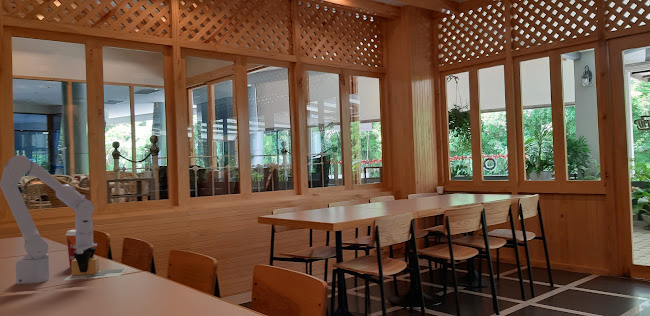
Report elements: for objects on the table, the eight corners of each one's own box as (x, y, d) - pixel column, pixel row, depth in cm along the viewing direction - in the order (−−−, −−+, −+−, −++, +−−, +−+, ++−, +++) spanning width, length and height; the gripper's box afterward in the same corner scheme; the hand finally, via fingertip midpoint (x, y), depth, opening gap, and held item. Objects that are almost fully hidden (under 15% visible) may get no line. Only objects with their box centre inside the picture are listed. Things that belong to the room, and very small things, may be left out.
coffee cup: (70, 272, 190) (69, 232, 191) (64, 269, 197) (63, 230, 197) (93, 268, 196) (92, 229, 196) (87, 265, 202) (86, 228, 202)
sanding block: (71, 275, 180) (71, 261, 180) (75, 272, 184) (75, 258, 185) (96, 273, 181) (95, 259, 181) (99, 270, 186) (98, 257, 186)
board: (63, 283, 173) (63, 280, 173) (73, 275, 185) (73, 272, 185) (119, 278, 177) (119, 275, 177) (125, 271, 188) (125, 268, 188)
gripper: (91, 234, 177) (92, 273, 177) (100, 229, 191) (102, 265, 191) (69, 235, 175) (70, 275, 175) (80, 230, 189) (81, 267, 189)
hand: (85, 270), depth 183 cm, fingers closed on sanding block, 5 cm apart
